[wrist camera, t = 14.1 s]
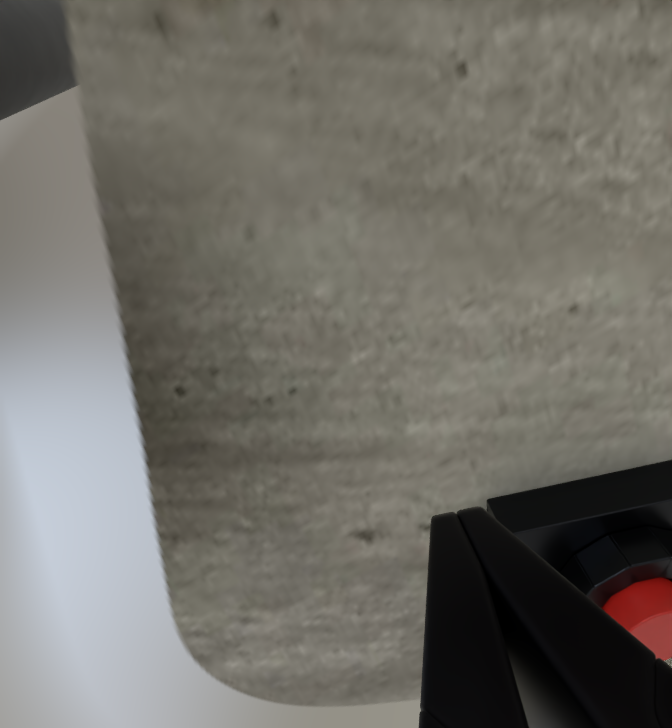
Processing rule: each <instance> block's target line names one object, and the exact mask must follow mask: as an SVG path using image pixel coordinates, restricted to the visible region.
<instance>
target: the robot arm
mask: <svg viewBox="0 0 672 728" xmlns="http://www.w3.org/2000/svg"><path fill="white" fill-rule="evenodd" d="M420 708H421V712H420V717H419V728H672V668H671V667H670V666H669V665H668V664H667V663H666V662H664V661H663V660H662V659H661V658H657V659H656V655H655V654H654V653H653V652H652V651H651V650H650V649H649V648H648V647H646V646H645V645H644V644H643V643H642V642H640V641H639V640H638V639H637V638H636V637H635V636H633V635H632V634H631V633H630V632H629V631H627V630H626V629H625V628H624V627H623V626H622V625H620V624H619V623H618V622H617V621H616V620H614V619H613V618H612V617H611V616H610V615H609V614H607V613H606V612H605V611H604V610H603V609H601V608H600V607H599V606H598V605H597V604H596V603H594V602H593V601H592V600H591V599H590V598H588V597H587V596H586V595H585V594H584V593H583V592H581V591H580V590H579V589H578V588H577V587H575V586H574V585H573V584H572V583H571V582H570V581H568V580H567V579H566V578H565V577H564V576H562V575H561V574H560V573H559V572H558V571H557V570H555V569H554V568H553V567H552V566H551V565H549V564H548V563H547V562H546V561H545V560H544V559H542V558H541V557H540V556H539V555H538V554H536V553H535V552H534V551H533V550H532V549H531V548H529V547H528V546H527V545H526V544H525V543H523V542H522V541H521V540H520V539H519V538H518V537H516V536H515V535H514V534H513V533H512V532H510V531H509V530H508V529H507V528H506V527H505V526H503V525H502V524H501V523H500V522H499V521H497V520H496V519H495V518H494V517H493V516H492V515H490V514H489V513H488V512H487V511H486V510H484V509H483V508H481V507H472V508H467V509H463V510H459V511H458V512H457V514H455V513H454V512H449V513H444V514H439V515H435V516H433V517H432V518H431V528H430V546H429V563H428V581H427V598H426V616H425V633H424V651H423V668H422V686H421V703H420Z"/></svg>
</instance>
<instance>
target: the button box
mask: <svg viewBox="0 0 672 728" xmlns="http://www.w3.org/2000/svg"><path fill="white" fill-rule="evenodd" d="M487 512H488V513H489V514H490V515H492V516H493V517H494V518H495V519H496V520H497V521H499V522H500V523H501V524H502V525H503V526H505V527H506V528H507V529H508V530H509V531H510V532H512V533H513V534H514V535H515V536H516V537H518V538H519V539H520V540H521V541H522V542H523V543H525V544H526V545H527V546H528V547H529V548H531V549H532V550H533V551H534V552H535V553H536V554H538V555H539V556H540V557H541V558H542V559H544V560H545V561H546V562H547V563H548V564H549V565H551V566H552V567H553V568H554V569H555V570H557V571H558V572H559V573H560V574H561V575H562V576H564V577H565V578H566V579H567V580H568V581H570V582H571V583H572V584H573V585H574V586H575V587H577V588H578V589H579V590H580V591H581V592H583V593H584V594H585V595H586V596H587V597H588V598H590V599H591V600H592V601H593V602H594V603H596V604H597V605H598V606H599V607H600V608H602V607H603V606H604V604H605V603H606V602H607V601H608V600H609V599H610V598H611V596H612V595H614V594H616V593H618V592H620V591H621V590H623V589H625V588H627V587H628V586H630V585H632V584H634V583H636V582H640V581H645V580H649V579H654V578H659V577H662V578H666V579H668V580H670V581H672V460H670V461H665V462H660V463H656V464H651V465H646V466H642V467H637V468H632V469H628V470H623V471H618V472H614V473H609V474H604V475H600V476H595V477H590V478H586V479H581V480H576V481H571V482H567V483H562V484H557V485H553V486H548V487H543V488H539V489H534V490H529V491H525V492H520V493H515V494H511V495H506V496H501V497H497V498H492V499H488V500H487Z"/></svg>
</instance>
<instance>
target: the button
mask: <svg viewBox="0 0 672 728" xmlns="http://www.w3.org/2000/svg"><path fill="white" fill-rule="evenodd" d="M601 609H603V610H604V611H605V612H606V613H607V614H609V615H610V616H611V617H612V618H613V619H614V620H616V621H617V622H618V623H619V624H620V625H622V626H623V627H624V628H625V629H626V630H627V631H629V632H630V633H631V634H632V635H633V636H635V637H636V638H637V639H638V640H639V641H640V642H642V643H643V644H644V645H645V646H646V647H648V648H649V649H650V650H651V651H652V652H653V653H654V654H655V655H656V659H657V658H661V659H662V660H663V661H664V660H667V659H669V658H671V657H672V581H670V580H668V579H666V578H662V577H659V578H654V579H649V580H645V581H640V582H636V583H634V584H632V585H630V586H628V587H627V588H625V589H623V590H621V591H620V592H618V593H616V594H614V595H612V596H611V598H610V599H609V600H608V601H607V602H606V603H605V604H604V606H603V607H602V608H601Z"/></svg>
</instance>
